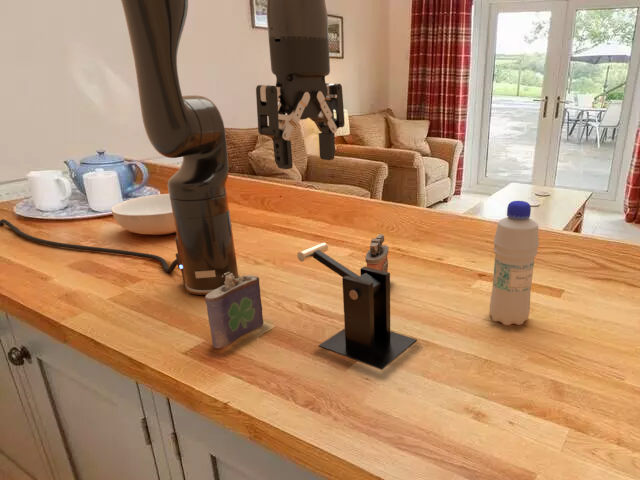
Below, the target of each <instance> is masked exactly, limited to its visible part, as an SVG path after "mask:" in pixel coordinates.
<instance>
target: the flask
mask: <svg viewBox="0 0 640 480" xmlns="http://www.w3.org/2000/svg"><path fill="white" fill-rule="evenodd" d="M229 273H230V272H227V273H224V275H227V274H229ZM222 277H223V275H222ZM225 277H226V280H225V282H224V283H225V285H223V286H221V287H219V288H217V289H215V290H214V291H212V292H210V293H208V294H207V295H204V299H205V305H206V311H207V317H208V325H209V330H210V335H211V342H212V347H213V348H215V349H222V348H223V349H224V348H225V347H228V346H230V344H232V343H233V342H235V341H236V340H238V339H240V337H242V336H244V335H245V334H247V333H250V332H252V331H254V330H256V329H259V328H261V327H263V326H264V317H263V305H262V298H261V286H260V278H259V277H258V275H253V274H248V275H242V276H241V277H239V278H238V279H236V278H234V277H235V276H233V274H232V273H230V274H229V275H227V276H225Z"/></svg>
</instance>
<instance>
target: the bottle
mask: <svg viewBox="0 0 640 480" xmlns="http://www.w3.org/2000/svg"><path fill="white" fill-rule="evenodd" d="M531 206H532V205H530V203H529V202H527V201H524V200H513V201H511V202H509V203H508V205H507V207H506V217H504V218H501V219H500V220H498V222H497V226H496V230H495V234H494V239H493V244H494V245H493V249H492V250H493V252H494V265H493V266H494V267H493V277H492V287H491V288H492V289H491V295H490V301H489V316H491V320H492V321H493V322H500V323H501V324H503V325H505V326H511V325H517V326H520V325H523V324H524V322H525V321H528V320H529V317H530V311H531V291H532V283H533V274H534V265H535V258H536V256H537V255H538V248H539V246H540V243H539V224H538V223H537V221H535V220H533V219H531V213H532V212H531V211H532V207H531Z"/></svg>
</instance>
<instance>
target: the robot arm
mask: <svg viewBox="0 0 640 480" xmlns="http://www.w3.org/2000/svg"><path fill="white" fill-rule="evenodd" d="M120 2H121V6H122V9H123V10H122V11H123V13H124V14H123V15H124V18H125V23H126V27H127V32H128V38H129V43H130V47H131V51H132V52H131V53H132V56H133V57H132V58H133V62H134V69H135V75H136V82H137V83H136V84H137V89H138V99H139V105H140V113H141V118H142V124H143V127H144V130H145V133H146V136H147V138H148V141H149V142H150V145H151V146H152V147H153V148H154V150H155V151H156V152H157V153H158V154H159V155H161V156H163V157H165V158H168V159H178V158H182V163H181V165H180V167H179V169H178V170H177V171H176V172H175V173H174V174H172V176H171V177H170V178H169V179H168V181H167V191H168V194H169V197H170V202H171V207H172V213H173V217H174V223H175V228H176V232H175V234H176V236H175V238H174V240H175V245H176V246H175V247H176V251H177V253H175V259H174V260H173V261H172V262H171V264H170V265H168V262H167V261H166V259H164V258H163V257H161V256H160V255H156V254H151V253H147V252H146V253H145V252H137V251H131V250H123V249H116V248H107V247H97V246H88V245H80V244H79V245H78V244H73V243H72V244H71V243H64V242H57V241H52V240H47V239H42V238H39V237H36V236H32V235H30V234H27V233H25V232H24V231H22V230H21V229H19V228H18V227H17V226H15V225H13V224H12V223H11V222H10V221H8V220H7V219H3V218H2V219H0V226H4V225H6V226H7V227H8V228H9V229H11V230H12V231H13V232H15V234H17V235H19V236H21V237H22V238H25V239H26V240H29V241H32V242H35V243H38V244H42V245H47V246H51V247H52V246H53V247H57V248H64V249H71V250H81V251H89V252H97V253H108V254H114V255H115V254H116V255H123V256H129V257H130V256H131V257H137V258H142V259H143V258H145V259H149V260H153V261H154V260H155V261H158V262H159V263H160V264H161V266H162V268H163V271H164V272H165V273H168V274H169V273H172V272H174V270H175V269H176V267H177V268H178V269H180V271H181V277H182V282H183V286H185V290H186V291H187V292H188V293H190V294H192V295H197V296H206V295H207V294H208V293H210V292H212V291H214V290H215V289H217V288H219V287H221V286H223V285H225V283H224V282H225V280H226V277H225V276H227V275H229V274H230V273H232V274H233V276H235V277H234V278H236V279H238V278H240V275H239V270H238V263H237V256H236V255H237V254H236V247H235V241H234V235H233V228H232V220H231V213H230V212H231V211H230V205H229V199H228V192H227V181H228V178H229V159H228V146H227V136H226V129H225V123H224V120H223V116H222V114H221V112H220V109H219V108H218V107H217V106H216V104H215V103H214V102H213V101H212V100H211V99H209V98H208V97H206V96H203V95H199V94H198V95H197V94H194V95H183V94H182V93H183V92H182V89H181V85H180V79H179V72H178V50H179V47H180V42H181V40H182V36H183V33H184V32H183V31H184V29H185V25H186V21H187V17H188V12H189V11H188V10H189V0H120ZM266 24H267V34H268V47H269V60H270V70H271V73H272V74H273V75H275V79H276V81H275V85H270V84H258V85H256V87H255V98H256V99H255V100H256V114H257V115H256V116H257V130H258V131H257V132H258V134H259V135H260V136H265V137H269V138H270V139H271V140H272V144H273V155H274V163H275V165H276V166H277V168H278V169H280V170H281V169H282V170H291V169H293V164H294V163H293V153H292V152H293V151H292V140H290V137H291V134H292V132H293V129H294V128H295V127H296V126H298V124H299V122H300V121H301V120H302V121H303V120H307V119H310V120H311V122H314V124H315V126H316V127H317V129H318V131H319V132H318V148H319V149H318V150H319V159H321V160H325V161H332V160H334V159H335V154H336V139H335V138H336V137H335V134H336V133H337V132H338V131H337V130H339V128H344V127H345V123H346V121H345V109H344V95H343V86H342V84H341V83H331V82H329V83H328V82H326V76H329V75H330V73H331V64H330V63H331V62H330V43H329V42H330V39H329V38H330V37H329V36H330V35H329V18H328V10H327V4H326V0H266ZM334 111H335V112H334ZM334 113H335V114H334ZM227 272H230V273H229V274H227V275H224V273H227ZM222 275H223V277H222Z"/></svg>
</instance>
